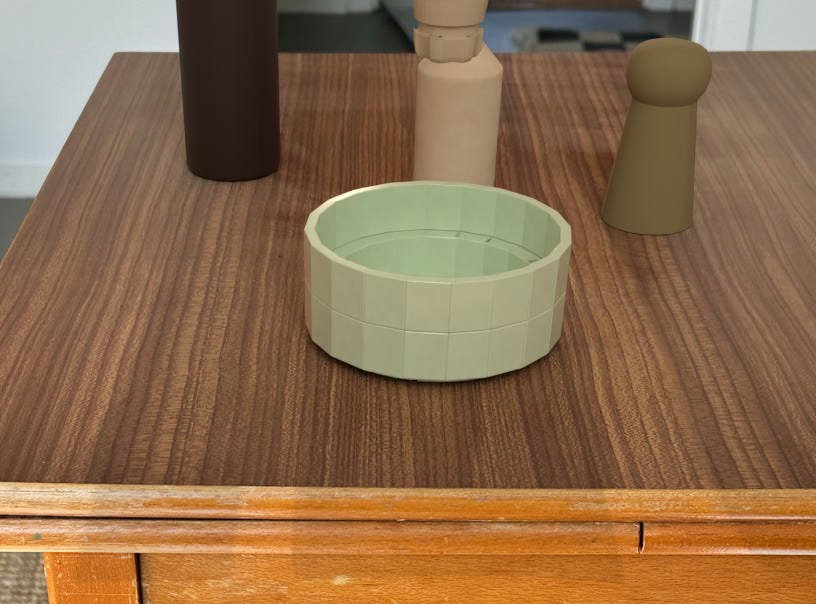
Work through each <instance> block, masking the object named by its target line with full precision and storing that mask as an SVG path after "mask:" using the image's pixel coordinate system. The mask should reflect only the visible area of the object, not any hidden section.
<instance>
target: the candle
mask: <svg viewBox="0 0 816 604" xmlns="http://www.w3.org/2000/svg"><path fill="white" fill-rule="evenodd" d="M503 76H504V67H503V64H501V62H500V60H498V58H497V56H495V54H494V53H493V52H492V51H491V49H490V48H489V47H488V46H487V43H485V42H484V41H482V45H481V49H480V53H479V54H478V55H477V56H476V57H472V59H471V60H470V61H469V62H465V63H458V62H447V63H434V62H431V61H430V59H428V58H422V60H421V61H419V63H418V65H417V77H416V78H417V79H416V100H415V101H416V103H415V104H416V105H415V126H414V127H415V128H414V147H413V149H414V151H413V176H412V178H413V179H412V181H447V182H464V183H471V184H478V185H484V186H490V187H495V178H496V177H495V176H496V165H497V162H496V161H497V153H498V152H497V151H498V138H499V128H500V127H499V126H500V113H501V102H502V101H501V100H502V90H503V89H502V88H503Z"/></svg>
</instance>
